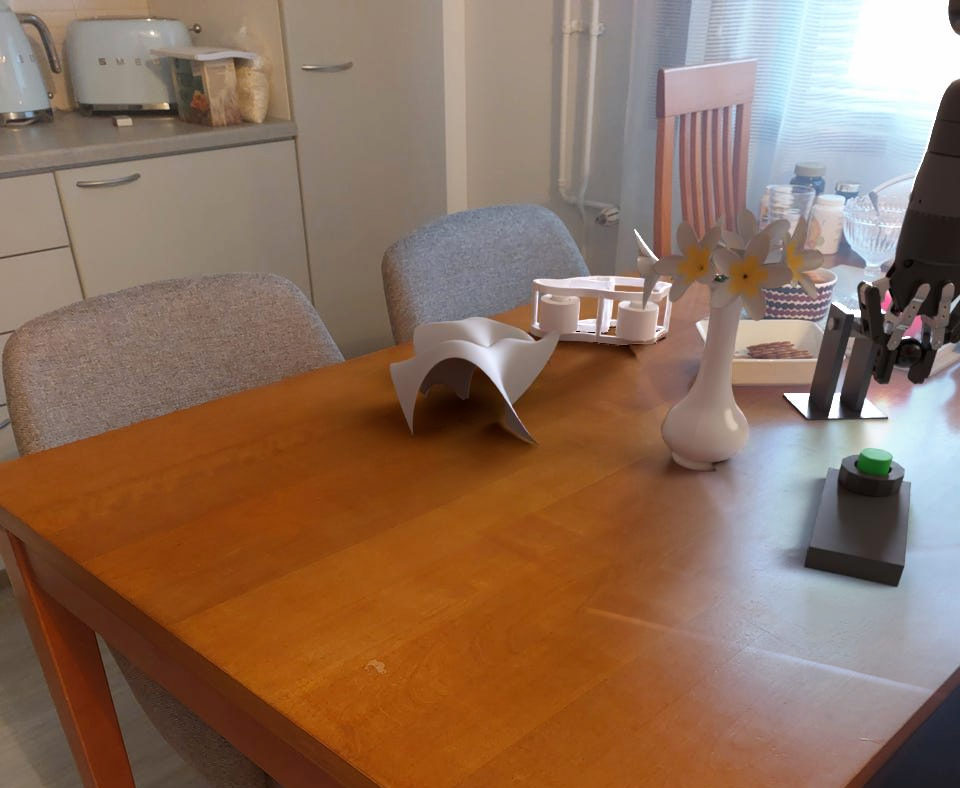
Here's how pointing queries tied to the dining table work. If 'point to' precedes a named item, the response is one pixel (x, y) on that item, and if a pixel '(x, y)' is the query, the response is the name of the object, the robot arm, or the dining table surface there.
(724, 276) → the flower vase
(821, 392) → the lever bracket
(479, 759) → the dining table surface
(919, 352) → the switch lever
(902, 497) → the dark box
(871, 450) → the green button
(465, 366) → the sculpture
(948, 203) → the robot arm
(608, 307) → the car outline toy
